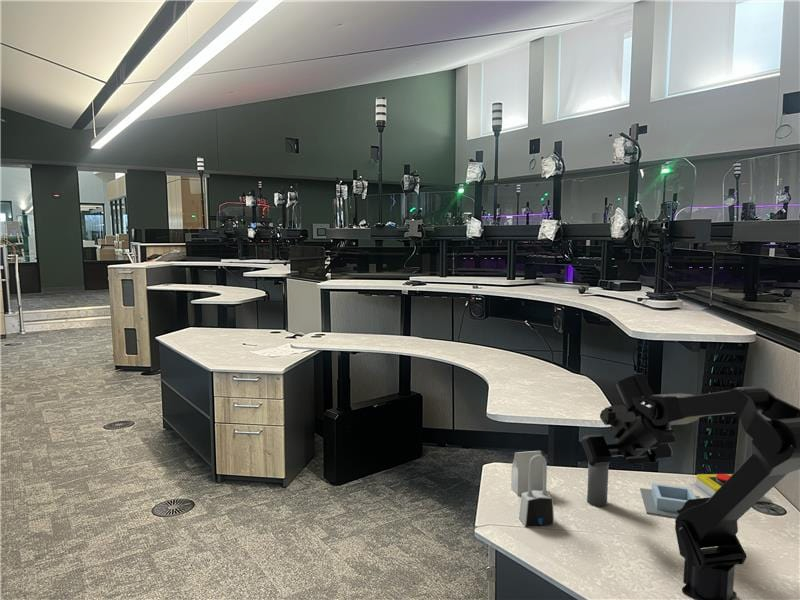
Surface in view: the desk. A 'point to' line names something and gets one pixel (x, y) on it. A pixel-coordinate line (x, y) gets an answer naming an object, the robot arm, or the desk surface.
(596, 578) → the desk surface
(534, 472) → the grey chamfered block
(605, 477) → the plug
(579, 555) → the desk surface
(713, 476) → the emergency button
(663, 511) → the dock
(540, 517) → the padlock
